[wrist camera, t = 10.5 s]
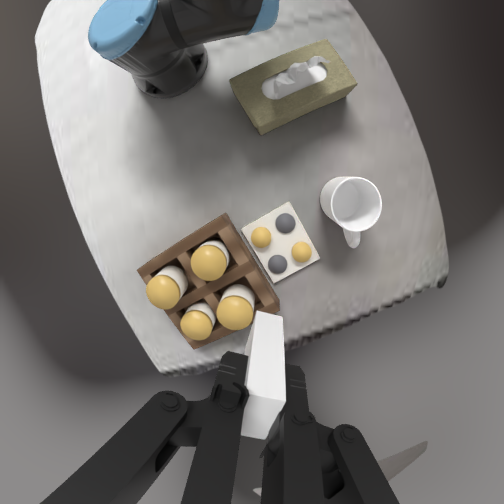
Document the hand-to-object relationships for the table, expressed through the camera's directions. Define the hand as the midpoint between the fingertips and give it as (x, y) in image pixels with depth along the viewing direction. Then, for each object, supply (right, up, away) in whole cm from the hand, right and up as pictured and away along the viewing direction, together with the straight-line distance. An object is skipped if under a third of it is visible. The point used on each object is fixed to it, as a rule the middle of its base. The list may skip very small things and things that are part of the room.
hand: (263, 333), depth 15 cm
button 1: (-15, -1, +35) cm, 38 cm away
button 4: (-3, -4, +35) cm, 35 cm away
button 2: (-11, -8, +39) cm, 41 cm away
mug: (+16, +13, +33) cm, 39 cm away
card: (+5, +6, +36) cm, 37 cm away
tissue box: (+7, +34, +29) cm, 45 cm away
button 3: (-7, +4, +36) cm, 37 cm away
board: (-9, -1, +39) cm, 40 cm away
